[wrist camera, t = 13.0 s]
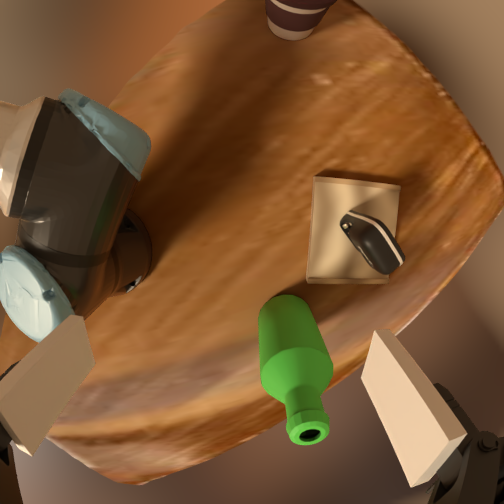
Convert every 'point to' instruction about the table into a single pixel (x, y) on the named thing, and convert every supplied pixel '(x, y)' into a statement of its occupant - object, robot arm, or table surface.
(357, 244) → the battery charger
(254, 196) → the table surface
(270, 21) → the coffee cup
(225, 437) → the table surface
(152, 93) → the table surface
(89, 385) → the table surface
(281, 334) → the bottle
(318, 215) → the board
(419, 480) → the robot arm
